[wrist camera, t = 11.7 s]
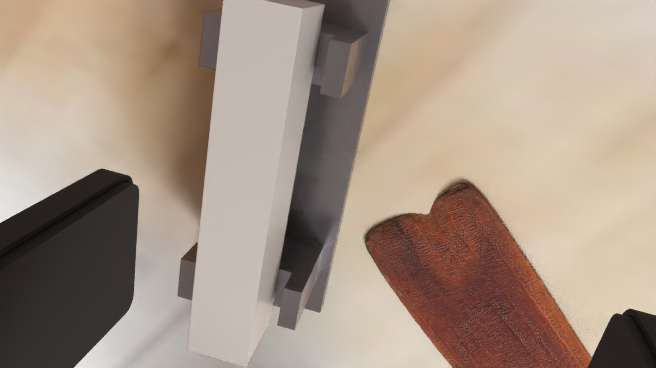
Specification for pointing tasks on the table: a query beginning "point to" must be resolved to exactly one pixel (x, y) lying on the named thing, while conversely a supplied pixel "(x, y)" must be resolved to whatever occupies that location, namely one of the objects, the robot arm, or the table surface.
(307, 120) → the twin post stand
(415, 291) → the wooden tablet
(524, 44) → the table surface
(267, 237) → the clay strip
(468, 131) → the table surface
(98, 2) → the table surface
